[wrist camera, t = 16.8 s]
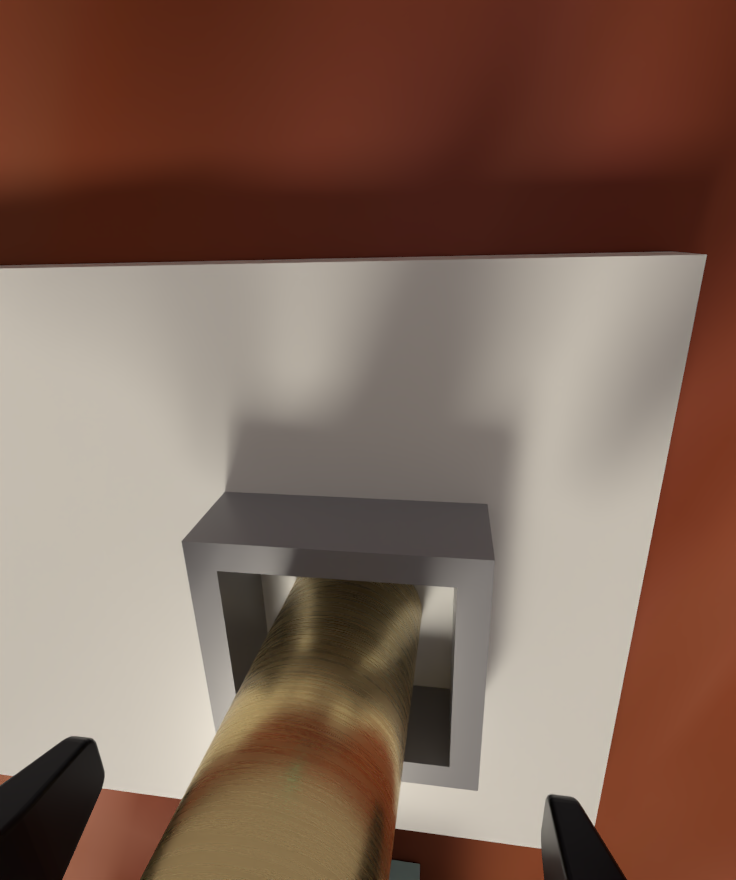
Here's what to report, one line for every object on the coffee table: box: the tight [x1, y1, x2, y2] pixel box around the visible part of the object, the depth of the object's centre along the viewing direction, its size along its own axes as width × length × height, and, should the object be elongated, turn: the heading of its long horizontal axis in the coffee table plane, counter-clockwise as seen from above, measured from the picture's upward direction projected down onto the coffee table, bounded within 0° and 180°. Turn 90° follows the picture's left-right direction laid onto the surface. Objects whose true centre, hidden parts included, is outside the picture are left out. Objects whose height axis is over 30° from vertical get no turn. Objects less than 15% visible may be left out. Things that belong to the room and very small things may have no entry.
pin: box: [140, 577, 422, 880], centre depth 8 cm, size 3×3×8 cm
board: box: [0, 251, 707, 848], centre depth 12 cm, size 20×15×4 cm
